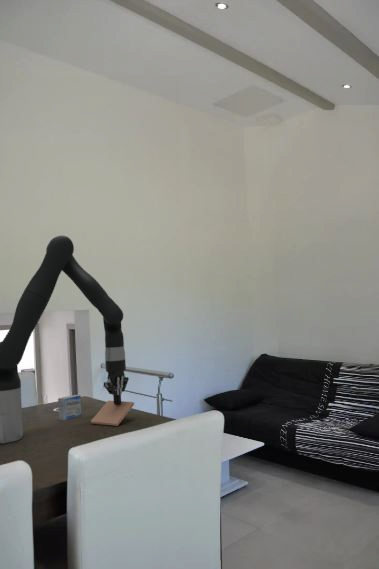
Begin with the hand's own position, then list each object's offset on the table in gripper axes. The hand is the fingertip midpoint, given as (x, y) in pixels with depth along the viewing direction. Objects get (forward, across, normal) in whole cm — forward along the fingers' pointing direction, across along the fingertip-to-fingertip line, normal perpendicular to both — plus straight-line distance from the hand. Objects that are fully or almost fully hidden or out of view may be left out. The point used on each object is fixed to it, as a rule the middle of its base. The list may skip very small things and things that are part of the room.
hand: (117, 404), depth 178 cm
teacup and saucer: (+7, +12, +36) cm, 38 cm away
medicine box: (+6, -2, +22) cm, 23 cm away
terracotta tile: (+6, -8, 0) cm, 10 cm away
